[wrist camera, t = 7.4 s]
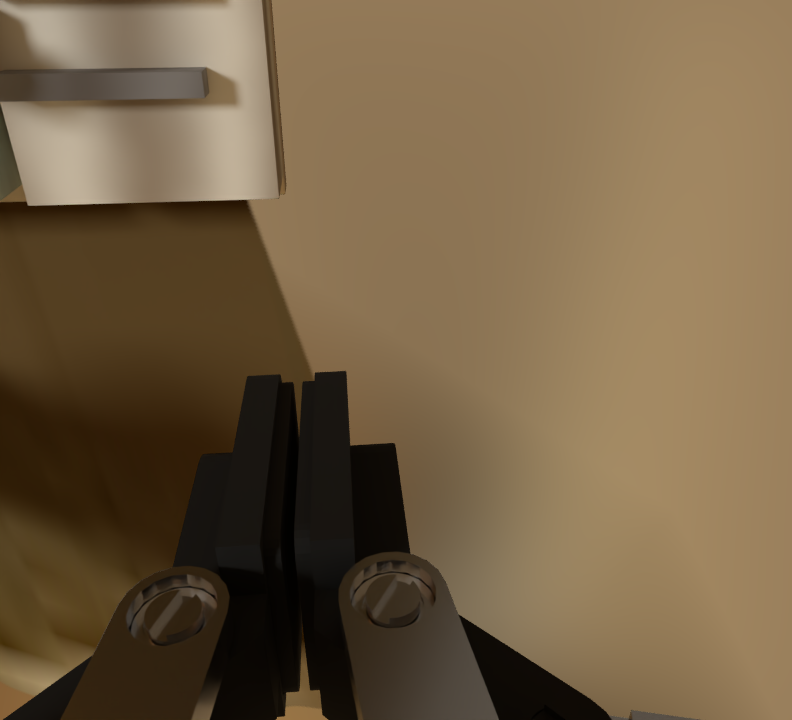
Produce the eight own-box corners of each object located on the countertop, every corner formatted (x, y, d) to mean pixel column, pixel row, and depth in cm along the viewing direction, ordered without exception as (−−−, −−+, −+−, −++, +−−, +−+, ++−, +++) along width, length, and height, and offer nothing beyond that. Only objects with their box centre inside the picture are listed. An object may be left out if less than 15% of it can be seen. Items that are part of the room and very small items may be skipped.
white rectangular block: (255, -197, 29) (231, -248, 22) (286, 185, 37) (276, 244, 30) (-260, -204, 28) (-477, -262, 20) (-112, 196, 36) (-227, 261, 28)
